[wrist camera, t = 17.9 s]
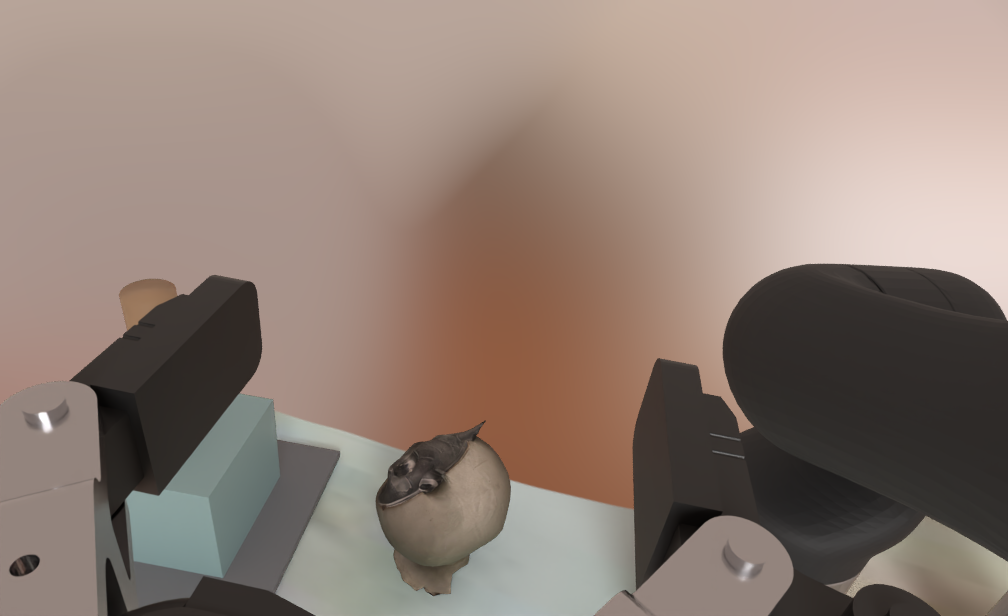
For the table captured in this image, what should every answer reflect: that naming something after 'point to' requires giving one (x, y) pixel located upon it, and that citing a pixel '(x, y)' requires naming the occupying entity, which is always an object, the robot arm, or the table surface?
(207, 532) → the peg on square base
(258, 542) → the mat
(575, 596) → the table surface
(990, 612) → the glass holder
